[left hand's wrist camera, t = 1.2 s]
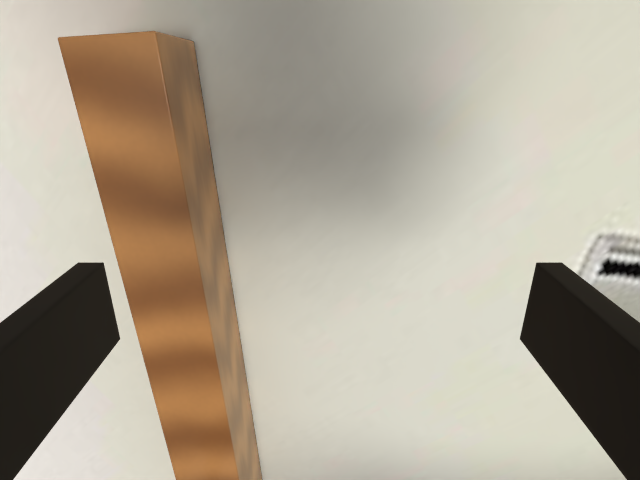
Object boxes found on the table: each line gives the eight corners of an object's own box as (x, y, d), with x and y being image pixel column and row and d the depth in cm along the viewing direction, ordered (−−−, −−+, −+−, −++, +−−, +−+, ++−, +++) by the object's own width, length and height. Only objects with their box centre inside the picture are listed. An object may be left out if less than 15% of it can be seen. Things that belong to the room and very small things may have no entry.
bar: (118, 45, 29) (56, 37, 22) (193, 41, 29) (155, 30, 22) (232, 565, 51) (218, 639, 44) (275, 563, 51) (268, 638, 44)
